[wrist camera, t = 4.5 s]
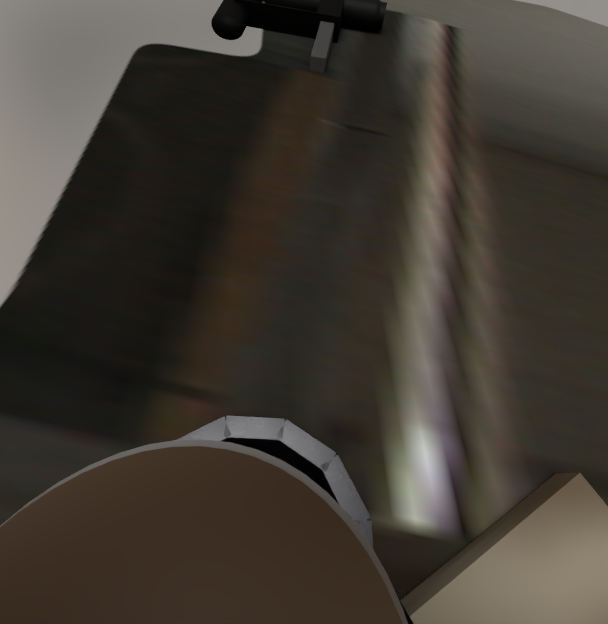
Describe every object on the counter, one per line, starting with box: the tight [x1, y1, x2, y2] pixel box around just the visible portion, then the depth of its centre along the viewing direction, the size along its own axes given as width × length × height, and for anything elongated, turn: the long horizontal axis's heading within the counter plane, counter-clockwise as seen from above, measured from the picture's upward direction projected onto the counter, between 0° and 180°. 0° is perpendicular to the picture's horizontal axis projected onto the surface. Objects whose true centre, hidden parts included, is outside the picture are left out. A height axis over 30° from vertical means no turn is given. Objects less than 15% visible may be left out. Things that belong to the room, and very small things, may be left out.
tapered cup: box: [0, 439, 408, 624], centre depth 8 cm, size 5×5×12 cm
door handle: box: [212, 0, 387, 73], centre depth 38 cm, size 3×20×16 cm
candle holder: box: [177, 416, 373, 549], centre depth 12 cm, size 10×10×4 cm
